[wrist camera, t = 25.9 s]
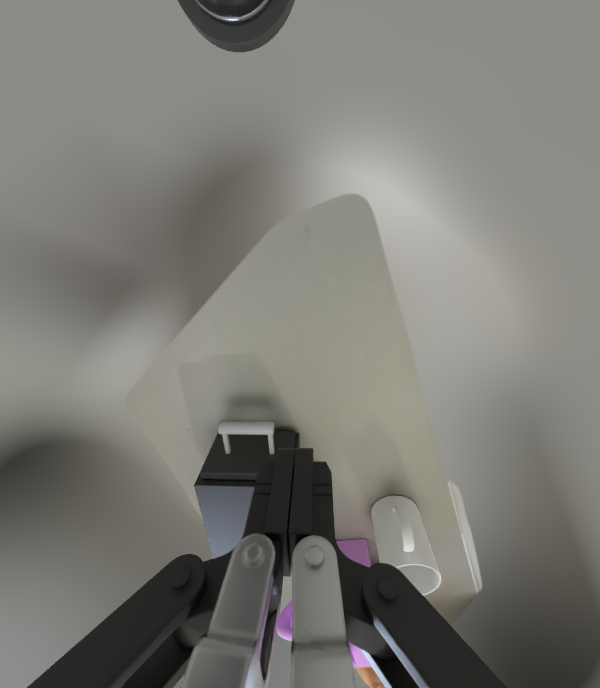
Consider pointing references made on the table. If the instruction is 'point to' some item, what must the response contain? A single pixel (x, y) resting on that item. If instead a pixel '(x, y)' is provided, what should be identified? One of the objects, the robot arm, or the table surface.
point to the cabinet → (225, 510)
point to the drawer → (243, 450)
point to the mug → (405, 542)
